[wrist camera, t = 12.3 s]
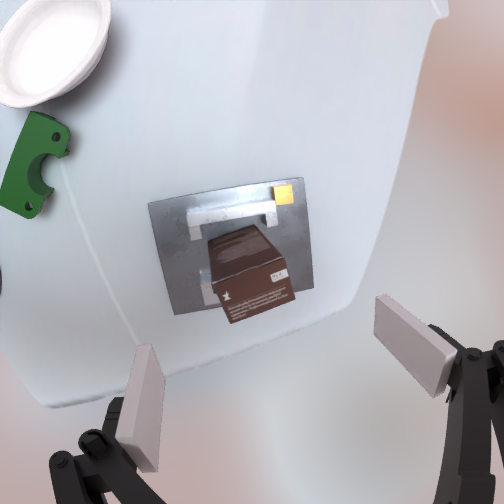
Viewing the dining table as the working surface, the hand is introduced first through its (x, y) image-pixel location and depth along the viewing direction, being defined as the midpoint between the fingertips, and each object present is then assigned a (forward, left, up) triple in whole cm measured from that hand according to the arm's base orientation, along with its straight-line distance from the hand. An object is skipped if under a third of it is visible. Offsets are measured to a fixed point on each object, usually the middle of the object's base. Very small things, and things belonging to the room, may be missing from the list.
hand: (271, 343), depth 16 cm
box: (0, 0, -20) cm, 20 cm away
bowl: (-17, +28, -21) cm, 39 cm away
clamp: (-22, +15, -21) cm, 34 cm away
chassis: (0, 0, -21) cm, 21 cm away
